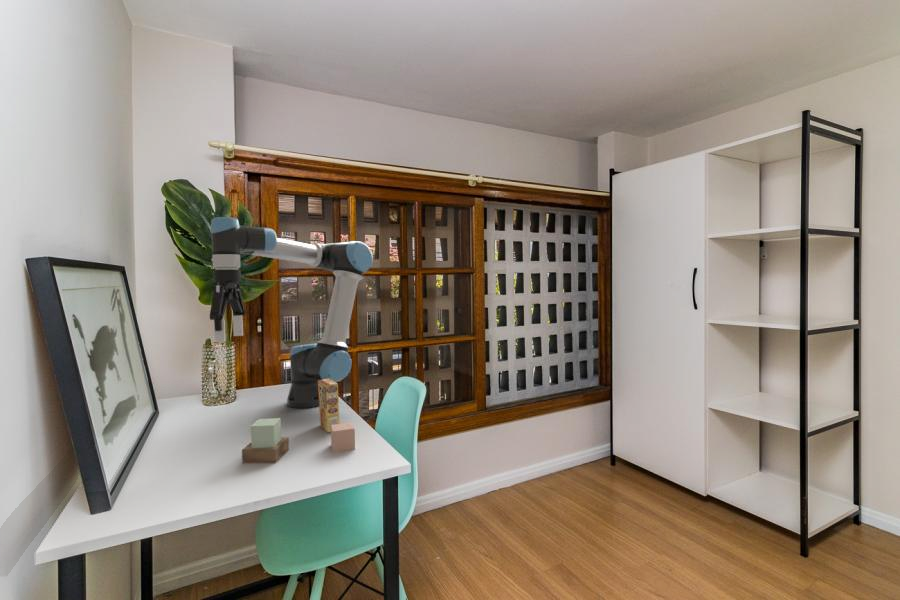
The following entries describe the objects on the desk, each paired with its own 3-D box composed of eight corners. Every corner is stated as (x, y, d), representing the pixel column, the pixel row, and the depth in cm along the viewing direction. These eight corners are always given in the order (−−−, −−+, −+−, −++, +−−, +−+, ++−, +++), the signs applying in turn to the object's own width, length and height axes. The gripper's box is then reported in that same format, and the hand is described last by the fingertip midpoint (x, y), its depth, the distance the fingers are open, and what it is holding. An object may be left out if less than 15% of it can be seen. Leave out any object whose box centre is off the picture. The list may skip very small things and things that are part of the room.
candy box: (340, 430, 142) (338, 383, 141) (327, 433, 140) (325, 385, 139) (331, 423, 150) (329, 378, 149) (318, 425, 147) (317, 379, 146)
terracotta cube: (331, 444, 130) (330, 424, 130) (352, 442, 132) (351, 422, 132) (333, 452, 124) (332, 431, 124) (355, 449, 127) (354, 428, 126)
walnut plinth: (257, 451, 127) (257, 437, 127) (288, 450, 127) (288, 437, 127) (242, 464, 118) (241, 449, 118) (276, 464, 118) (275, 449, 118)
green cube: (259, 440, 125) (258, 419, 124) (281, 439, 125) (280, 418, 125) (251, 448, 119) (250, 426, 118) (274, 447, 119) (273, 425, 119)
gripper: (230, 270, 147) (233, 333, 148) (193, 268, 122) (197, 345, 123) (254, 269, 147) (256, 333, 148) (222, 268, 122) (225, 344, 124)
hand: (229, 338), depth 136 cm, fingers open, 13 cm apart
